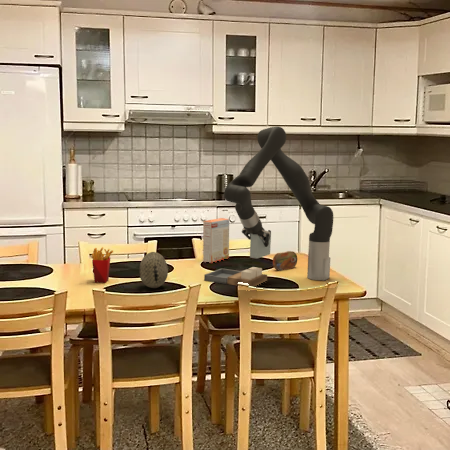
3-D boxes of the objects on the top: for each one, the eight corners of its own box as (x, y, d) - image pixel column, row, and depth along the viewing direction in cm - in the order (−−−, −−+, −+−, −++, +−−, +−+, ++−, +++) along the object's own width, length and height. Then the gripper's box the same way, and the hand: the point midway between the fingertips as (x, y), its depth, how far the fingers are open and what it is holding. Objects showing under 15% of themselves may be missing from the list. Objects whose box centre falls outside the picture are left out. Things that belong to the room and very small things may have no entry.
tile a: (261, 275, 268) (262, 268, 268) (257, 277, 264) (257, 270, 264) (252, 273, 270) (252, 266, 270) (247, 275, 267) (248, 268, 266)
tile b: (255, 277, 263) (255, 270, 263) (250, 279, 259) (250, 272, 259) (246, 276, 265) (246, 269, 265) (241, 278, 261) (241, 271, 261)
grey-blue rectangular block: (270, 254, 271) (271, 231, 270) (257, 258, 261) (258, 235, 260) (263, 253, 273) (264, 231, 272) (249, 257, 263) (250, 234, 261)
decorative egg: (170, 290, 251) (170, 254, 248) (141, 292, 247) (141, 255, 245) (164, 283, 262) (165, 248, 259) (137, 284, 258) (137, 249, 256)
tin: (275, 271, 288) (276, 254, 287) (271, 270, 291) (271, 253, 289) (297, 267, 298) (298, 250, 297) (292, 266, 301) (293, 249, 299)
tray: (242, 277, 276) (243, 271, 275) (226, 284, 263) (226, 278, 263) (221, 273, 281) (221, 268, 281) (204, 280, 268) (204, 274, 268)
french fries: (95, 279, 266) (95, 245, 264) (114, 279, 266) (114, 245, 263) (90, 284, 257) (90, 249, 255) (110, 284, 257) (110, 249, 255)
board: (266, 281, 269) (267, 274, 269) (252, 288, 257) (252, 281, 257) (242, 277, 275) (243, 271, 275) (227, 284, 263) (227, 277, 263)
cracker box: (220, 257, 316) (221, 217, 313) (229, 259, 312) (230, 218, 309) (202, 261, 305) (202, 220, 302) (211, 263, 302) (212, 221, 298)
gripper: (268, 214, 254) (280, 240, 266) (239, 211, 262) (251, 236, 274) (261, 229, 251) (274, 253, 263) (232, 225, 258) (245, 249, 270)
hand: (262, 244), depth 268 cm, fingers closed on grey-blue rectangular block, 3 cm apart
